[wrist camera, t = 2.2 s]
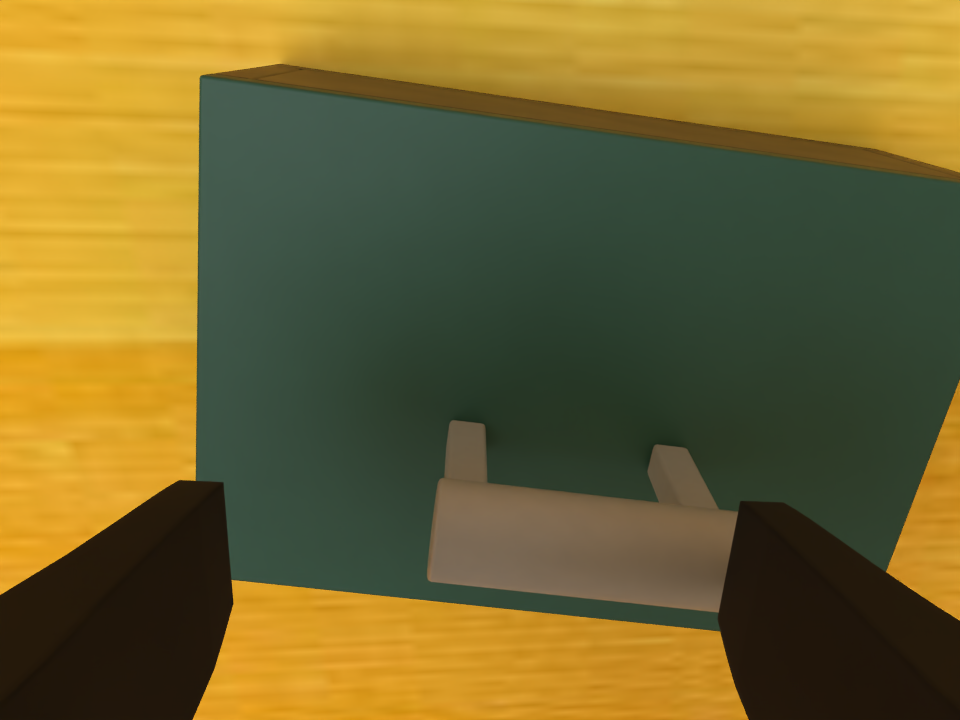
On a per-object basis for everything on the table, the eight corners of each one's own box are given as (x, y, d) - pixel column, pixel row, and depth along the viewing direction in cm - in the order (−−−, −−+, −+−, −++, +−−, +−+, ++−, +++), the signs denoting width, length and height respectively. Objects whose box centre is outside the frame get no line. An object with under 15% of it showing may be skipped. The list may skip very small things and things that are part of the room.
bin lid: (846, 628, 18) (963, 813, 14) (202, 559, 18) (113, 732, 13) (1011, 186, 15) (1239, 249, 10) (209, 72, 14) (90, 90, 10)
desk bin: (773, 486, 23) (853, 605, 18) (261, 426, 22) (204, 535, 17) (877, 149, 20) (1010, 186, 15) (277, 63, 19) (210, 72, 14)
